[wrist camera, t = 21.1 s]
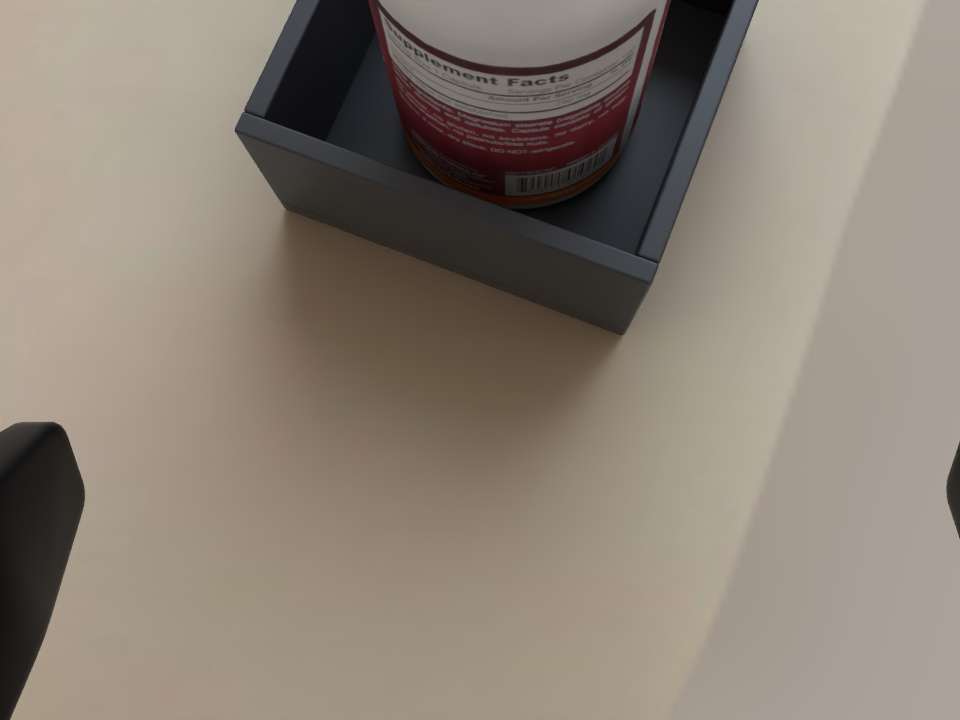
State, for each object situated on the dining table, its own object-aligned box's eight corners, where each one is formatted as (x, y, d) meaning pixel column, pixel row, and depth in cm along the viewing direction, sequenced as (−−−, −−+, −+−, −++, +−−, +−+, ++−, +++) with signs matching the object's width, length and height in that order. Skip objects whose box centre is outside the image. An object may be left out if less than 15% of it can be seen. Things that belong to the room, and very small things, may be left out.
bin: (623, 336, 23) (651, 285, 19) (283, 208, 24) (232, 130, 20) (744, 19, 25) (795, -97, 21) (421, -89, 26) (403, -223, 22)
